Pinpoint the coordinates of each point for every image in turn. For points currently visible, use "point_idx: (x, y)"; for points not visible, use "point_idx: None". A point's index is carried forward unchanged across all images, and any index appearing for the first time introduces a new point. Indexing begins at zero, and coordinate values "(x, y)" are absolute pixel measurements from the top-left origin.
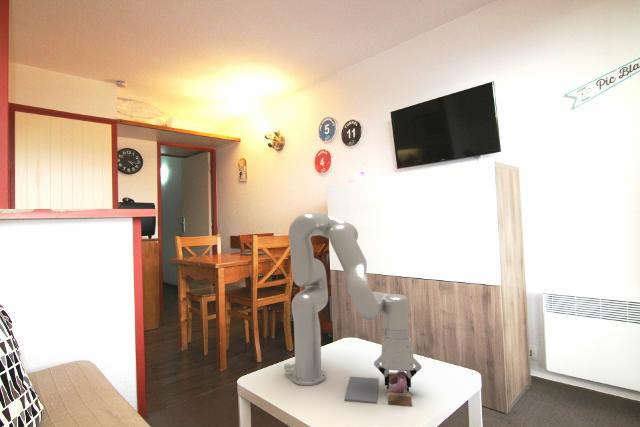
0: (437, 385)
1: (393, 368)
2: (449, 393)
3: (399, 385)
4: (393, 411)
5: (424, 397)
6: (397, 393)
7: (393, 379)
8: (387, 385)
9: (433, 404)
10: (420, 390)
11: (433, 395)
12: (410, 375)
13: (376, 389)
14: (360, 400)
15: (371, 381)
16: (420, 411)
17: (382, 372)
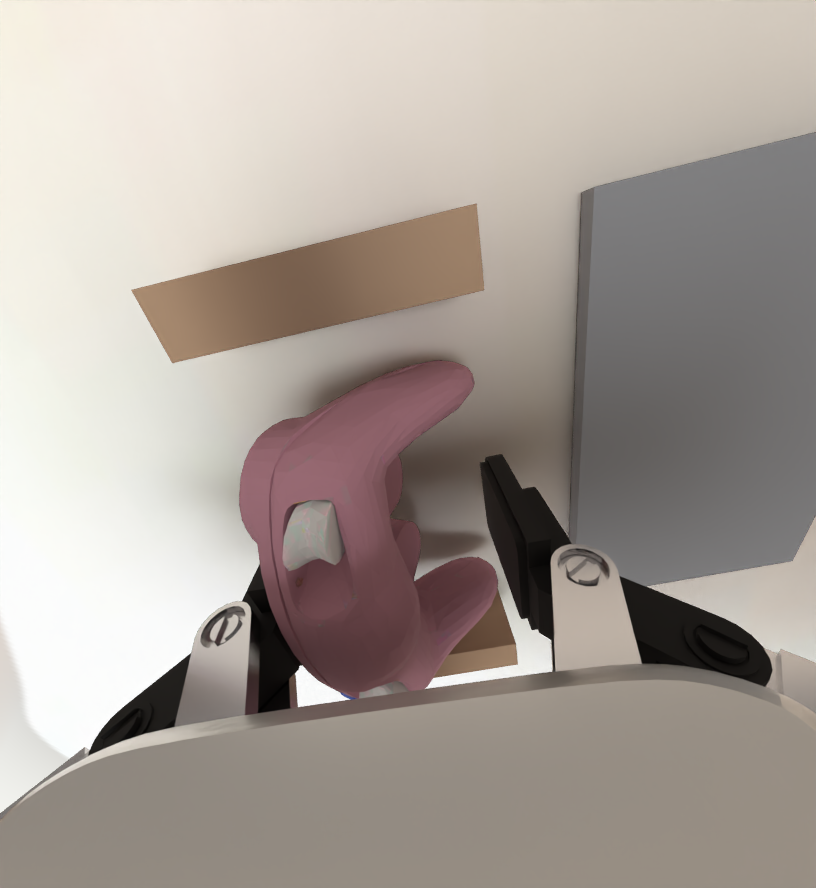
0: (183, 642)
1: (480, 740)
2: (60, 589)
3: (334, 433)
4: (358, 55)
5: (183, 487)
6: (345, 305)
7: (459, 592)
8: (504, 475)
9: (56, 407)
10: (254, 563)
11: (139, 534)
12: (202, 651)
13: (590, 450)
14: (802, 137)
15: (627, 549)
16: (77, 209)
17: (644, 601)
